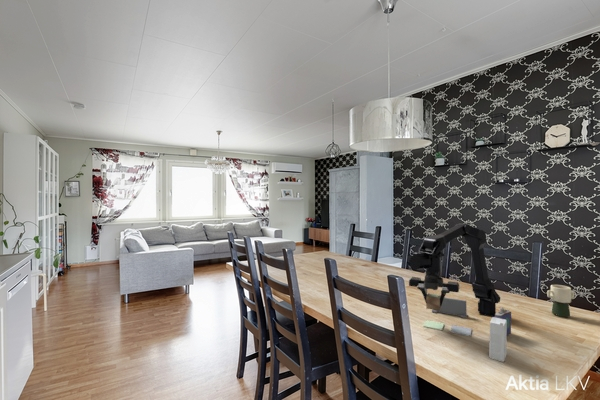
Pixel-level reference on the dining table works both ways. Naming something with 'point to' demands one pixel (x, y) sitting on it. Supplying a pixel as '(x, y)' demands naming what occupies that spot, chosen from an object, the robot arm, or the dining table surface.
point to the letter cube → (433, 301)
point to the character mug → (560, 299)
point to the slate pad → (461, 330)
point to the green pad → (433, 325)
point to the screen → (453, 307)
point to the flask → (507, 316)
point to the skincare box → (498, 339)
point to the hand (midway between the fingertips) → (433, 304)
